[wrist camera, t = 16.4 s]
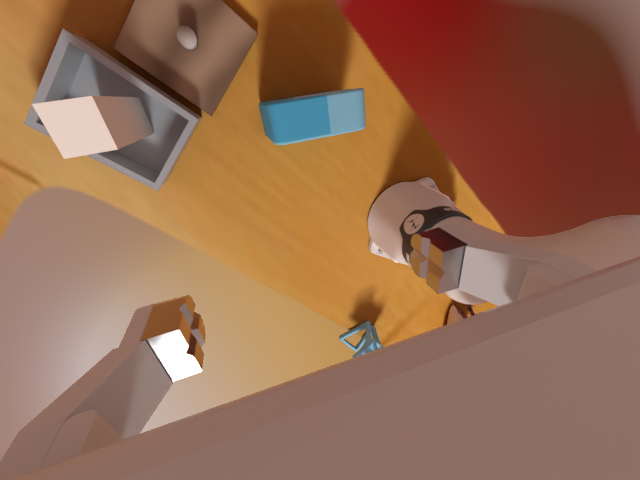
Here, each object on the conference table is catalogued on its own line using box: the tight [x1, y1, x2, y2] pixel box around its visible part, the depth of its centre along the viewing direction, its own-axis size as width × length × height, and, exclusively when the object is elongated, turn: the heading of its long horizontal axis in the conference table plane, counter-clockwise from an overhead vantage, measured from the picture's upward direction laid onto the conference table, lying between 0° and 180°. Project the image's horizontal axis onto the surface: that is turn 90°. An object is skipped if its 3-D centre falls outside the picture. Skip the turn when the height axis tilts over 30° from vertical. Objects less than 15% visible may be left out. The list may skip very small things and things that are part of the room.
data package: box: [259, 88, 366, 145], centre depth 36 cm, size 12×4×12 cm, turn 98°
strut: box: [32, 96, 154, 159], centre depth 29 cm, size 4×4×14 cm
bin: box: [24, 29, 202, 191], centre depth 34 cm, size 14×11×5 cm
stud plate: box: [114, 0, 258, 116], centre depth 33 cm, size 12×12×4 cm
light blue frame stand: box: [339, 321, 383, 358], centre depth 64 cm, size 8×8×12 cm
